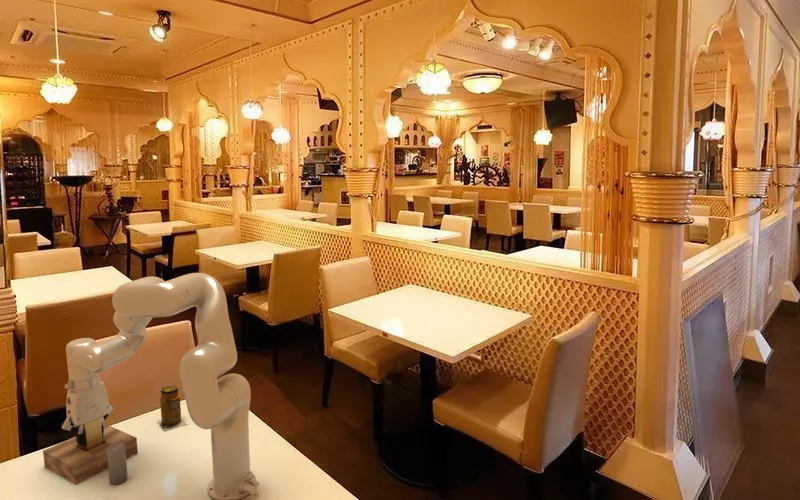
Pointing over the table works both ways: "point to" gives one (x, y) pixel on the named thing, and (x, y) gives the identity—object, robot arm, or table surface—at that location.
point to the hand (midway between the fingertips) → (90, 440)
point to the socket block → (86, 455)
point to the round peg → (117, 463)
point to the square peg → (92, 435)
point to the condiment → (170, 408)
